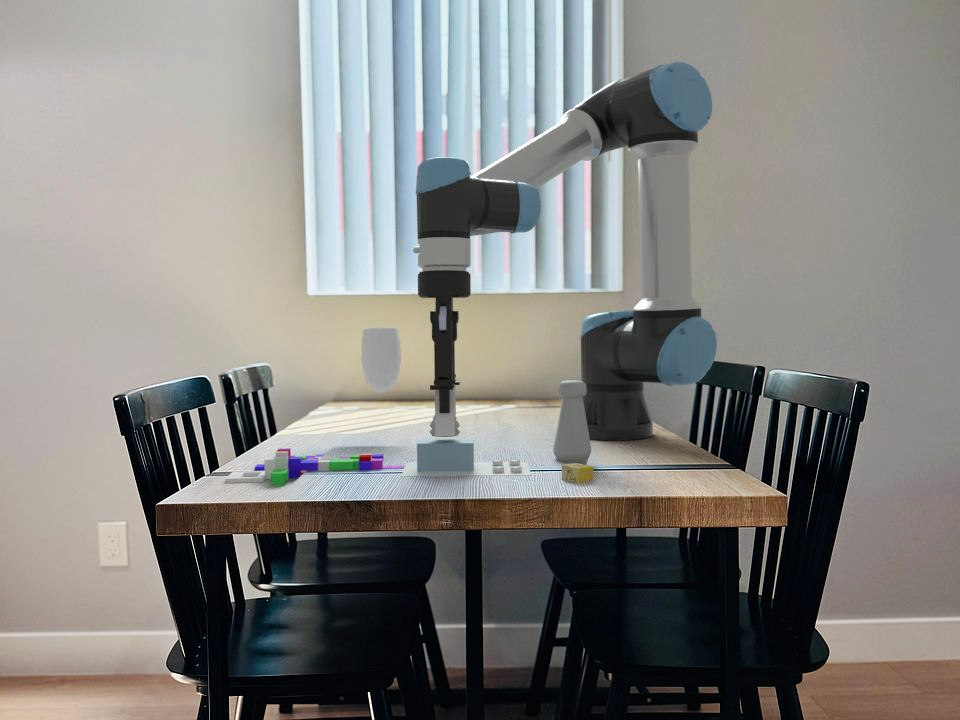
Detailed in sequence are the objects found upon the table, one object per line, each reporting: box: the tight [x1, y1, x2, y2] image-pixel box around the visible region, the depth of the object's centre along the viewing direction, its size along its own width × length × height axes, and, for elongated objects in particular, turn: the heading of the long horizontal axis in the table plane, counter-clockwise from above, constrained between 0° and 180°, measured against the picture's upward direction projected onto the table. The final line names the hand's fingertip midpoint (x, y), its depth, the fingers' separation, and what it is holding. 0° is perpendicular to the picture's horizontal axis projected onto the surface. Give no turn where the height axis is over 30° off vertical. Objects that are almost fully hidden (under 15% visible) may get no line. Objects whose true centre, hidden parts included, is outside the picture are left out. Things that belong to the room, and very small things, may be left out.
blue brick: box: [416, 438, 475, 472], centre depth 115 cm, size 8×4×4 cm, turn 90°
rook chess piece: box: [429, 384, 461, 438], centre depth 115 cm, size 4×4×8 cm
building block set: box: [224, 447, 405, 487], centre depth 121 cm, size 25×20×4 cm
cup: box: [361, 327, 402, 394], centre depth 146 cm, size 7×7×21 cm
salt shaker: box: [552, 379, 592, 465], centre depth 122 cm, size 6×6×13 cm
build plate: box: [400, 459, 532, 477], centre depth 116 cm, size 18×10×2 cm, turn 90°
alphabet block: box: [561, 462, 594, 484], centre depth 108 cm, size 3×3×3 cm
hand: (445, 432), depth 115 cm, fingers closed on rook chess piece, 4 cm apart
